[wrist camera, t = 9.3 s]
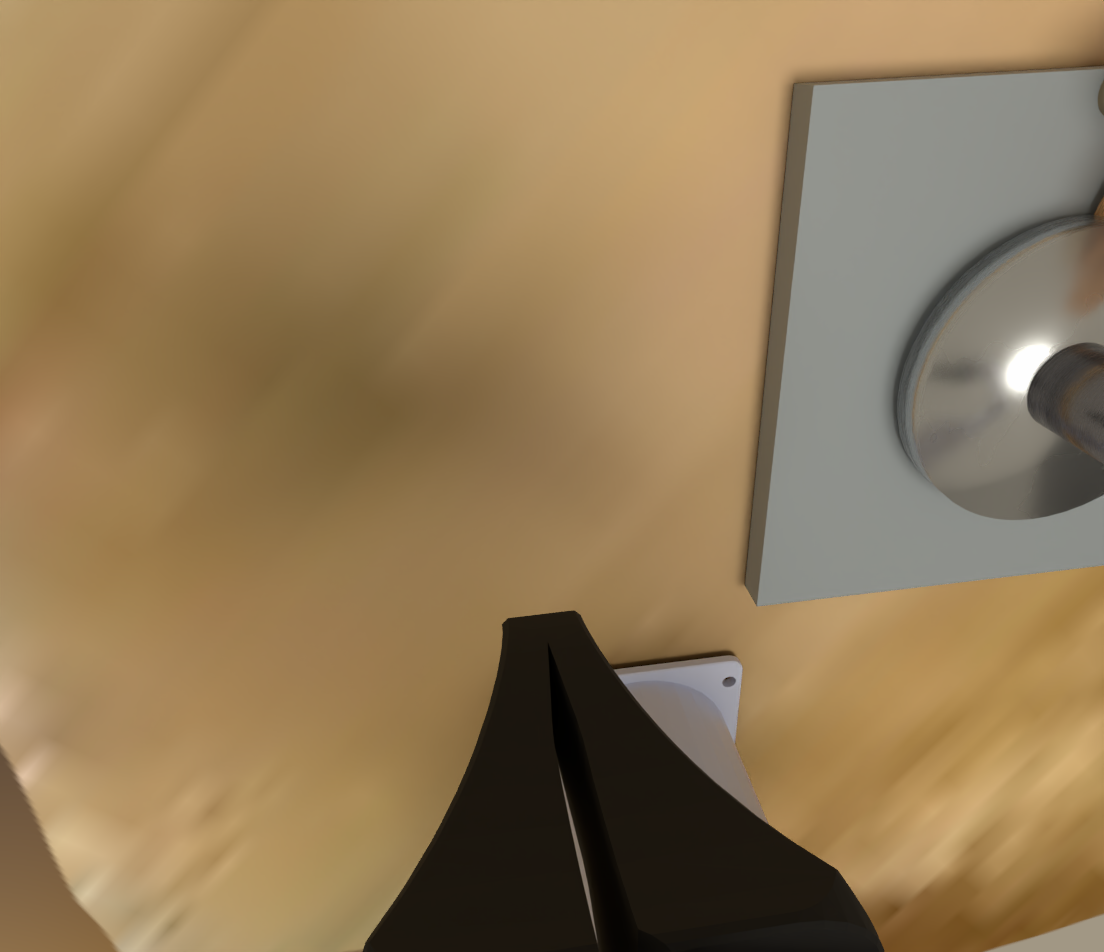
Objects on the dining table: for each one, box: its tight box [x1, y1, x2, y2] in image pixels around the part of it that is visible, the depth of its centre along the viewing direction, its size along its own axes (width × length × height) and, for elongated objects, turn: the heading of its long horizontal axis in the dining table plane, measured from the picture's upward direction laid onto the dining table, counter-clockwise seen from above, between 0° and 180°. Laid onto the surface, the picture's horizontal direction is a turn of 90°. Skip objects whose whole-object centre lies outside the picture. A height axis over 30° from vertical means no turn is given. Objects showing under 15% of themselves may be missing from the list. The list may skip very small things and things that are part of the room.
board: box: [745, 66, 1104, 606], centre depth 24 cm, size 16×18×1 cm
